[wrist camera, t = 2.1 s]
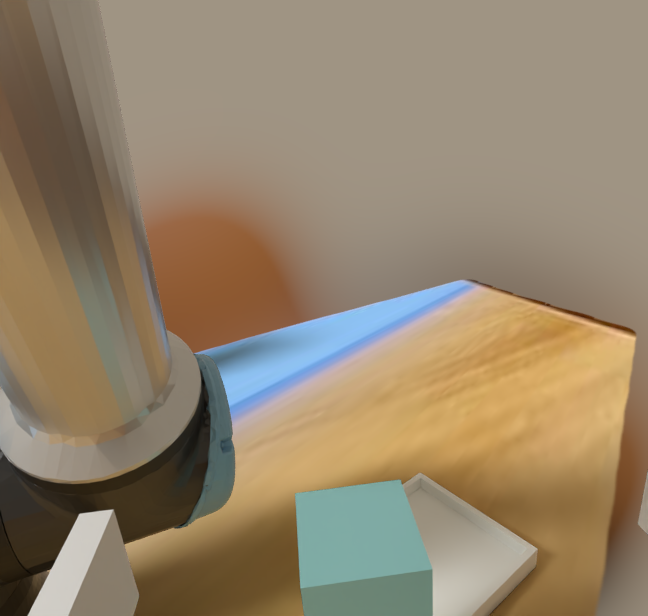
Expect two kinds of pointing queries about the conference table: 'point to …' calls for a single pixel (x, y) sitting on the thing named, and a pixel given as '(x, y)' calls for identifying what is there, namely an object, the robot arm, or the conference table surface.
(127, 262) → the robot arm
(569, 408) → the conference table surface
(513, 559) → the tray
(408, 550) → the teal post
